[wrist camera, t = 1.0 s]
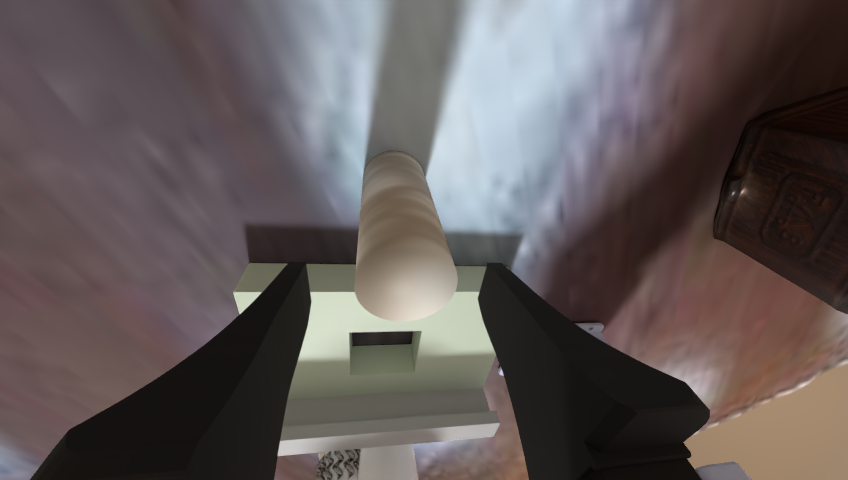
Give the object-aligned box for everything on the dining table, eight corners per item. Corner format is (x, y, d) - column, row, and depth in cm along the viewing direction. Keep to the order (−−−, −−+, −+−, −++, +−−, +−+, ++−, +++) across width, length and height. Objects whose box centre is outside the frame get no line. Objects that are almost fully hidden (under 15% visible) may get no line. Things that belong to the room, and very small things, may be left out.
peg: (428, 153, 19) (467, 245, 11) (420, 209, 21) (448, 320, 13) (363, 148, 18) (354, 242, 10) (362, 206, 21) (354, 322, 13)
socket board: (508, 266, 25) (546, 334, 20) (472, 366, 33) (493, 436, 27) (249, 262, 22) (204, 344, 16) (276, 375, 30) (253, 458, 24)
